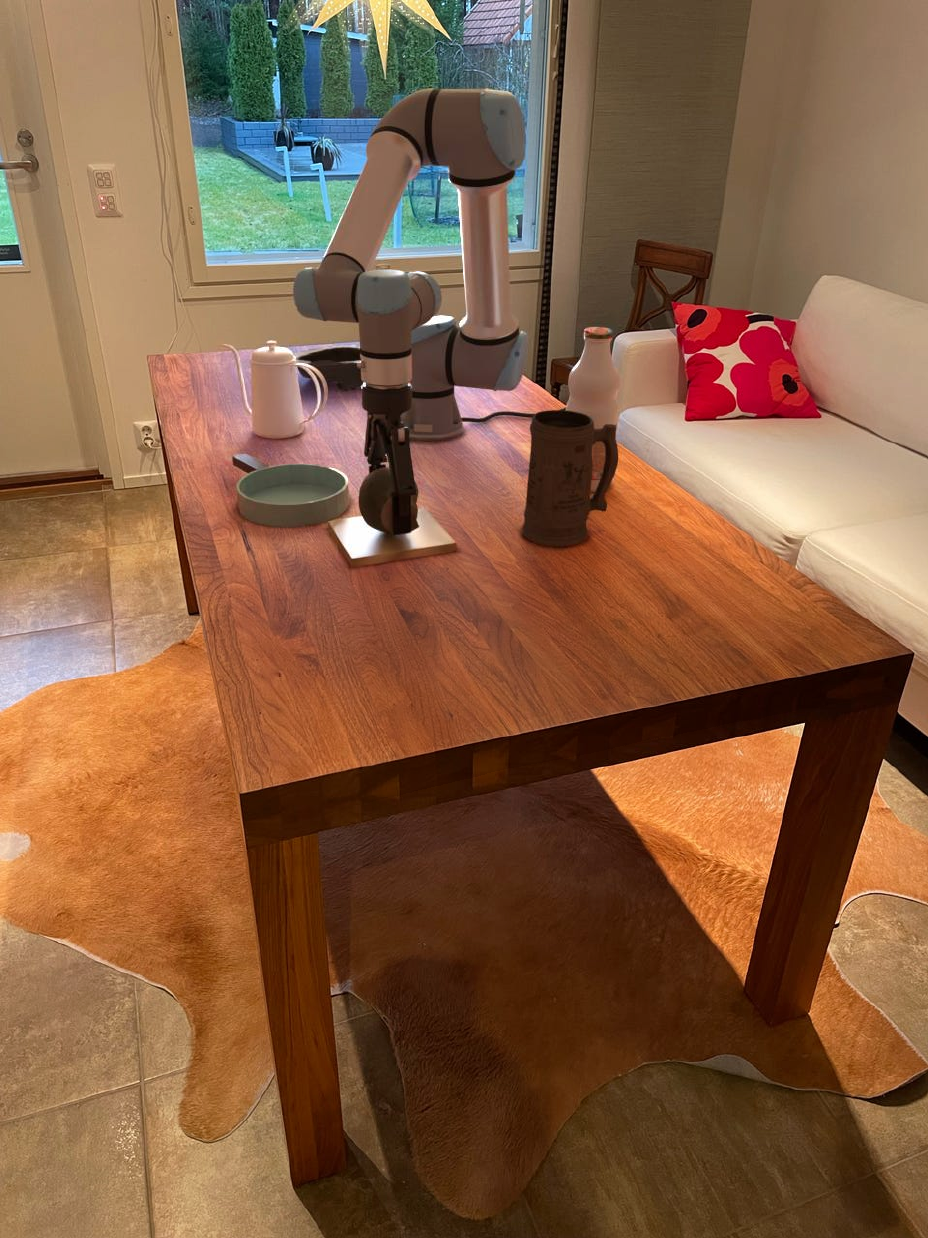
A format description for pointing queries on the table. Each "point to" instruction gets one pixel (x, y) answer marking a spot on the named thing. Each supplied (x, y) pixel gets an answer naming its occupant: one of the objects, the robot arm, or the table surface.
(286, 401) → the coffeepot
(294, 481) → the pan
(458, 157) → the robot arm
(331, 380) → the stone bowl
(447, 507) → the table surface
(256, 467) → the pan handle
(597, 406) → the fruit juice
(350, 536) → the cutting board
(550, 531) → the beer stein
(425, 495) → the table surface
